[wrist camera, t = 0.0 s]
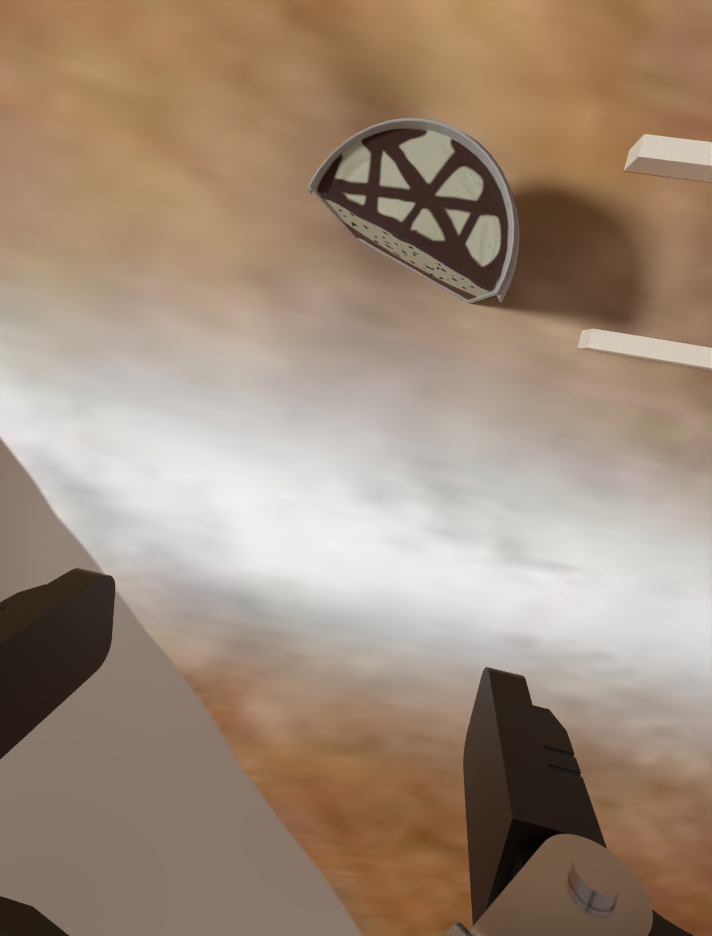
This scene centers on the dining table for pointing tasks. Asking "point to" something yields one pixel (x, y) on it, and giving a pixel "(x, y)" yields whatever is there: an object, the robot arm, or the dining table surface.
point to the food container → (426, 203)
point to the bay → (673, 162)
